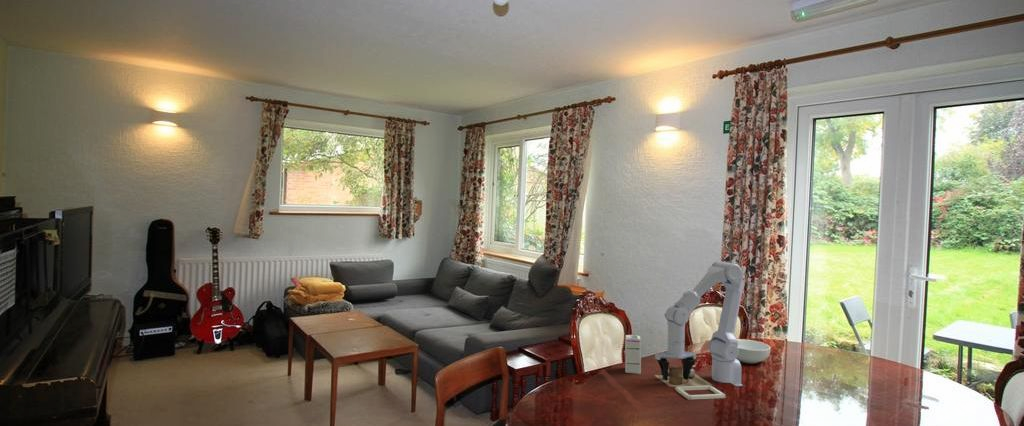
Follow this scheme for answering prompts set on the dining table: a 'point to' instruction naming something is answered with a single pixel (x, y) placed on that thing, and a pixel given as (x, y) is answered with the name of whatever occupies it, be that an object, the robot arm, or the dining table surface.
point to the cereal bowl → (752, 351)
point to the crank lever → (691, 374)
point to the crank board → (686, 381)
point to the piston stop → (675, 375)
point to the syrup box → (632, 354)
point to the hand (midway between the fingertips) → (675, 379)
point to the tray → (707, 396)
